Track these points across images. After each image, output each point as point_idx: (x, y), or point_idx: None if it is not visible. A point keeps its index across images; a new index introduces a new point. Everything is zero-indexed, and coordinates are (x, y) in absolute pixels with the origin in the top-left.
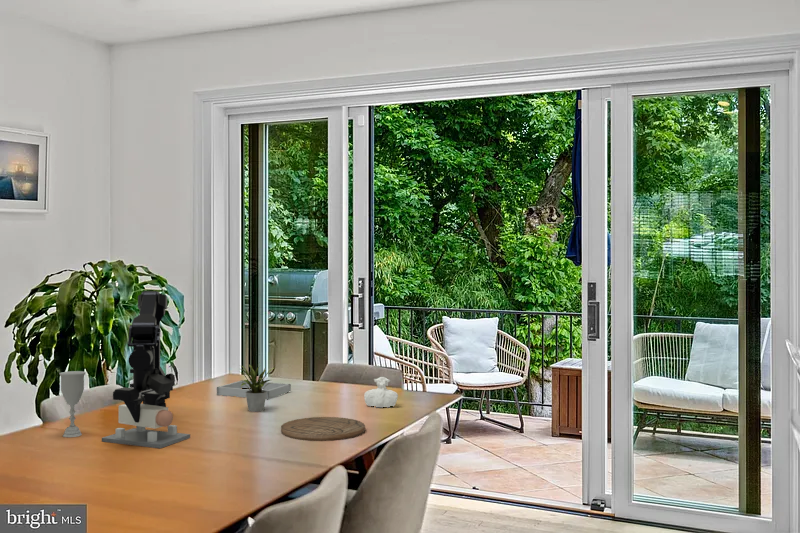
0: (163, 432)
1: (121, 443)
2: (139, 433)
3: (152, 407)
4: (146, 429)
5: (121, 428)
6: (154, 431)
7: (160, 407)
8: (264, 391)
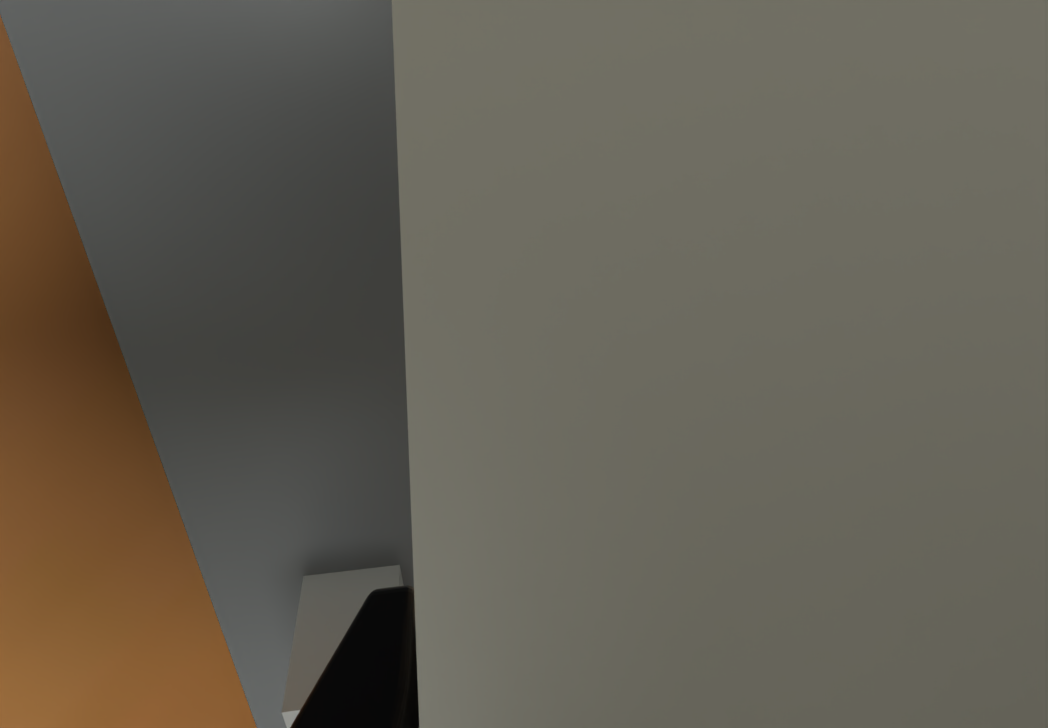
0: (176, 209)
1: None
2: None
3: (985, 714)
4: (222, 626)
5: None
6: (236, 427)
7: (832, 309)
8: None
